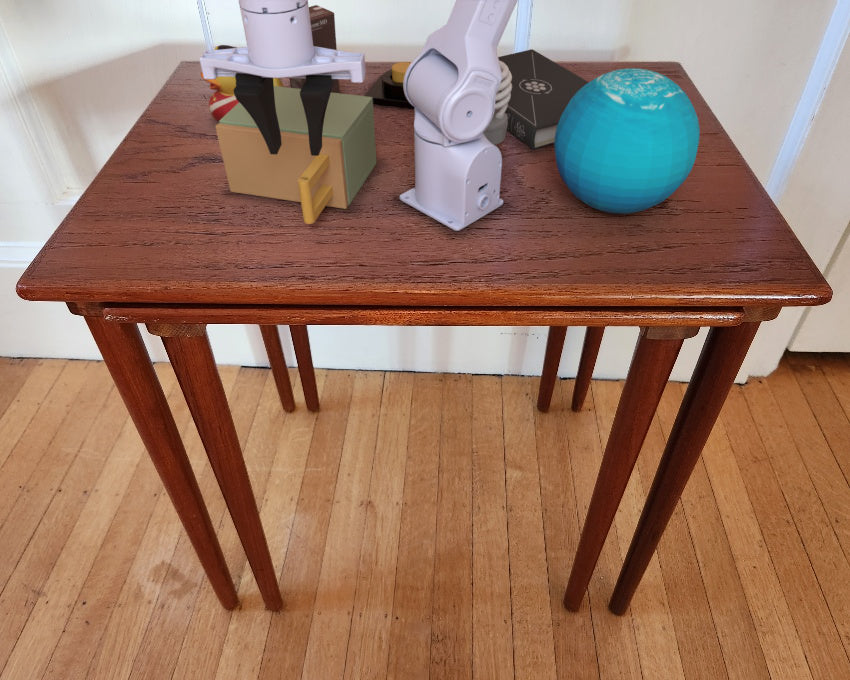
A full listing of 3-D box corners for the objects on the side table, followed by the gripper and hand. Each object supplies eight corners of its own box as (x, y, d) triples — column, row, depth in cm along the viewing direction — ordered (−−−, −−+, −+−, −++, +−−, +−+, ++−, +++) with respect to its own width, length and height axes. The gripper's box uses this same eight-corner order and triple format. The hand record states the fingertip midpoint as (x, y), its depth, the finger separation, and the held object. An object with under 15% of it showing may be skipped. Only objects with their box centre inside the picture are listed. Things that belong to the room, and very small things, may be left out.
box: (310, 111, 96) (298, 22, 88) (291, 101, 98) (278, 14, 90) (343, 98, 99) (335, 11, 91) (324, 89, 101) (314, 3, 93)
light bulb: (456, 162, 85) (459, 66, 77) (468, 141, 89) (471, 48, 81) (501, 168, 84) (508, 72, 76) (510, 147, 88) (518, 53, 80)
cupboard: (349, 205, 79) (342, 136, 73) (234, 188, 81) (219, 120, 75) (376, 163, 85) (372, 96, 80) (270, 148, 88) (258, 84, 82)
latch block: (444, 87, 101) (445, 69, 99) (430, 111, 96) (430, 91, 94) (381, 80, 103) (380, 62, 101) (363, 103, 98) (362, 84, 96)
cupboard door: (326, 239, 73) (317, 170, 68) (205, 220, 76) (186, 152, 71) (348, 205, 78) (341, 138, 73) (233, 188, 81) (218, 122, 75)
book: (447, 88, 101) (448, 68, 99) (530, 68, 106) (532, 48, 104) (530, 150, 87) (533, 129, 85) (621, 124, 92) (625, 103, 90)
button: (420, 75, 99) (419, 63, 98) (413, 85, 96) (412, 73, 95) (396, 72, 100) (395, 60, 98) (388, 82, 97) (388, 70, 96)
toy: (208, 110, 97) (190, 38, 90) (282, 98, 99) (271, 27, 92) (217, 139, 90) (199, 64, 83) (296, 125, 93) (285, 51, 86)
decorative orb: (534, 173, 83) (548, 48, 73) (653, 166, 84) (684, 42, 74) (563, 245, 73) (585, 111, 62) (700, 236, 73) (744, 103, 63)
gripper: (365, -12, 60) (374, 132, 69) (204, -14, 61) (235, 129, 70) (353, 16, 55) (365, 168, 64) (177, 13, 56) (214, 163, 65)
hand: (296, 150), depth 67 cm, fingers open, 3 cm apart
